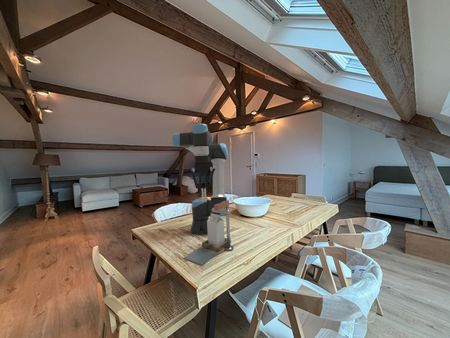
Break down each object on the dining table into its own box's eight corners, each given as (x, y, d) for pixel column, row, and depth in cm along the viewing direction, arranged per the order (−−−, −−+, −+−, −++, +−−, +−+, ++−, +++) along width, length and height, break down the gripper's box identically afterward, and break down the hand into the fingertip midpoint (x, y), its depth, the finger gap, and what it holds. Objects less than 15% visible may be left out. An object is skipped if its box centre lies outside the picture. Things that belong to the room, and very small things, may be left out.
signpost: (203, 250, 104) (200, 203, 102) (216, 242, 113) (213, 198, 111) (221, 256, 97) (218, 205, 95) (233, 246, 106) (230, 200, 105)
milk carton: (216, 241, 116) (214, 211, 115) (225, 244, 111) (223, 213, 110) (208, 246, 111) (206, 214, 109) (217, 249, 106) (215, 216, 105)
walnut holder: (202, 247, 109) (201, 243, 109) (214, 239, 120) (214, 235, 119) (218, 252, 102) (218, 248, 102) (231, 243, 113) (230, 239, 112)
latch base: (222, 249, 105) (222, 248, 105) (228, 245, 109) (227, 244, 109) (230, 252, 102) (230, 250, 102) (235, 247, 106) (235, 246, 106)
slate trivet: (183, 258, 98) (183, 257, 98) (200, 248, 109) (200, 247, 109) (201, 265, 91) (201, 264, 90) (217, 253, 101) (217, 252, 101)
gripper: (187, 155, 89) (190, 204, 90) (216, 154, 91) (218, 201, 92) (188, 156, 96) (190, 200, 97) (214, 154, 98) (216, 198, 100)
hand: (204, 201), depth 95 cm, fingers closed
